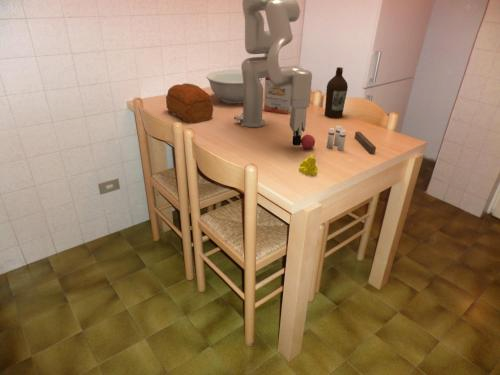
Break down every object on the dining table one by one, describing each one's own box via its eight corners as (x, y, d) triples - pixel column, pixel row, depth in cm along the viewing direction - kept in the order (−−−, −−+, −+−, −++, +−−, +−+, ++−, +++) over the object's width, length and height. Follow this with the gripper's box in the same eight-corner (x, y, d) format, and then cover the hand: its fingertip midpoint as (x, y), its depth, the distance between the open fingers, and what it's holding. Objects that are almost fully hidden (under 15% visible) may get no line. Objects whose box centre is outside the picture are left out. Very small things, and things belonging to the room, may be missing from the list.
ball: (303, 137, 147) (317, 139, 148) (301, 131, 152) (315, 133, 153) (300, 150, 151) (313, 152, 151) (298, 143, 156) (311, 145, 156)
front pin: (327, 148, 153) (330, 129, 149) (325, 146, 156) (328, 127, 151) (333, 148, 154) (335, 129, 149) (331, 146, 156) (334, 127, 152)
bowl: (227, 111, 195) (226, 84, 188) (197, 97, 218) (196, 73, 210) (272, 102, 212) (273, 77, 205) (240, 90, 234) (241, 67, 227)
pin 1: (334, 146, 156) (337, 127, 152) (333, 143, 158) (335, 125, 154) (340, 145, 156) (343, 127, 152) (338, 143, 158) (341, 125, 154)
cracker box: (263, 111, 197) (265, 72, 187) (267, 108, 202) (268, 70, 192) (287, 114, 193) (290, 75, 182) (291, 111, 197) (294, 72, 187)
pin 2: (338, 150, 152) (341, 131, 147) (336, 148, 154) (339, 129, 150) (344, 150, 152) (347, 131, 148) (342, 148, 154) (345, 129, 150)
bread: (188, 125, 176) (186, 93, 168) (164, 111, 194) (161, 81, 186) (216, 119, 184) (215, 88, 177) (190, 106, 203) (189, 78, 195)
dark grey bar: (370, 153, 149) (371, 147, 148) (354, 137, 165) (355, 131, 163) (374, 153, 149) (376, 147, 148) (358, 137, 165) (359, 131, 164)
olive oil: (320, 113, 196) (325, 66, 184) (338, 112, 198) (344, 65, 186) (328, 119, 187) (334, 70, 175) (346, 118, 189) (354, 69, 177)
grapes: (307, 165, 139) (309, 147, 135) (321, 174, 133) (323, 155, 129) (295, 169, 136) (297, 150, 132) (308, 177, 130) (310, 158, 126)
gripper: (287, 97, 149) (284, 138, 158) (294, 107, 136) (290, 152, 145) (305, 97, 150) (301, 138, 159) (313, 107, 137) (308, 151, 146)
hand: (296, 144), depth 152 cm, fingers closed
